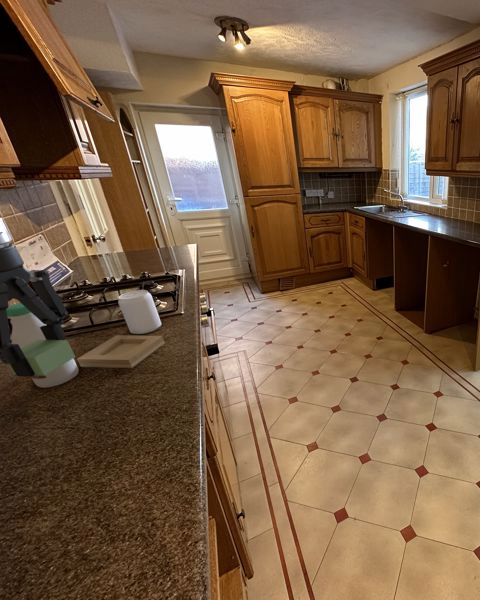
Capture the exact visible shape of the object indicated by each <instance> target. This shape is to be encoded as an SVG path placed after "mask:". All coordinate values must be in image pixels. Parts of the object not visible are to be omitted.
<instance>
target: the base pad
mask: <svg viewBox="0 0 480 600" xmlns="http://www.w3.org/2000/svg"><path fill="white" fill-rule="evenodd" d="M165 343H166V342H165V339H164V336H163V335H131V334H130V335H129V334H127V335H124V334H116V335H115V336H112V337H111V338H110V339H108V340H106V341H105V342H102V343H101V344H100V345H97V346H96V347H94V348H93V349H91V350H89V351H87V352H86V353H84V354H82V355H81V356H79V357H78V358H76V360H77V363H78V364H79V366H80V368H116V369H117V368H118V369H120V368H121V369H122V368H123V369H132V368H134V367H135V366H137V365H138V364H140V363H141V362H142V361H144V360H145V359H146V358H148V357H149V356H151V354H153V353H154V352H156V351H157V350H158V349H159V348H161V347H162V346H164V345H165Z"/></svg>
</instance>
